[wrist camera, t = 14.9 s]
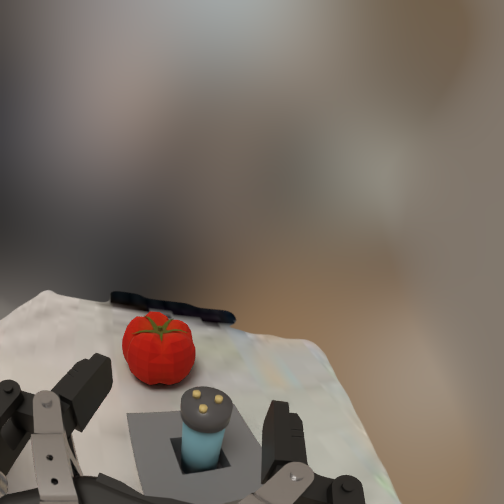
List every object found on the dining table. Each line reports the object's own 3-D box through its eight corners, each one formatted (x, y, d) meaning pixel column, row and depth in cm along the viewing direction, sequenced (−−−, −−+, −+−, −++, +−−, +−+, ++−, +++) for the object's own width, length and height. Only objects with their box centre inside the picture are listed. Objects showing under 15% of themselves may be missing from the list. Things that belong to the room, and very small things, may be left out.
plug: (185, 484, 24) (189, 419, 21) (173, 454, 28) (176, 384, 26) (224, 477, 26) (242, 412, 23) (210, 449, 31) (222, 380, 28)
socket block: (152, 523, 17) (149, 513, 16) (128, 428, 31) (126, 413, 30) (280, 495, 24) (287, 484, 23) (231, 418, 38) (234, 404, 37)
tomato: (199, 395, 42) (205, 346, 40) (121, 393, 37) (117, 341, 35) (188, 352, 55) (192, 307, 52) (125, 349, 50) (124, 302, 48)
